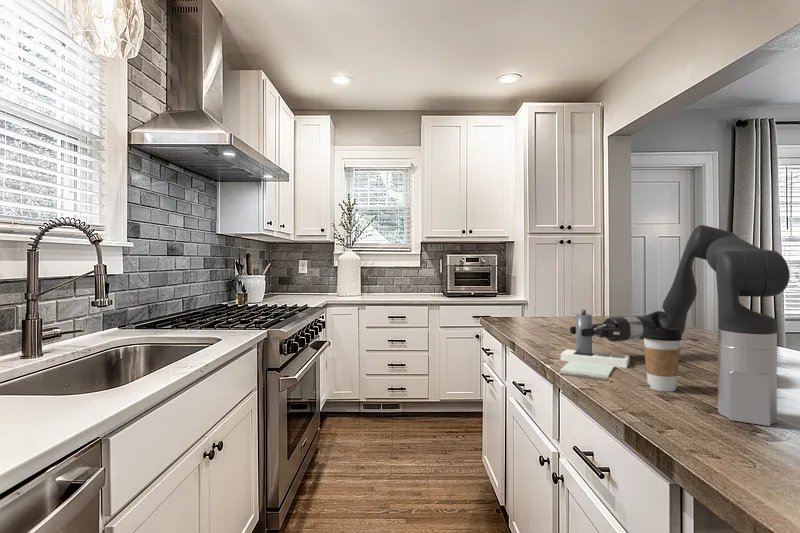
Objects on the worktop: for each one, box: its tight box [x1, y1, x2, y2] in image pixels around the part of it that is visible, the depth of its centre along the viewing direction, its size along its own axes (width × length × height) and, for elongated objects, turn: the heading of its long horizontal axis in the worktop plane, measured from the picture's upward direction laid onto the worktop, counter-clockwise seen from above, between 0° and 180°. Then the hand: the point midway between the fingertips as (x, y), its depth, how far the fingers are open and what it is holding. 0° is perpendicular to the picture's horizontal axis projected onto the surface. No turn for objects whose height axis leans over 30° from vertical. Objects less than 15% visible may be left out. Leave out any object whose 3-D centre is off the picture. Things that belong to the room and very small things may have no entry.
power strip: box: [560, 348, 630, 369], centre depth 130 cm, size 8×24×3 cm, turn 57°
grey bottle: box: [575, 309, 593, 356], centre depth 133 cm, size 5×5×14 cm
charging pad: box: [559, 361, 615, 382], centre depth 122 cm, size 12×12×2 cm
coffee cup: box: [642, 327, 683, 393], centre depth 107 cm, size 8×8×15 cm
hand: (576, 331), depth 133 cm, fingers closed on grey bottle, 4 cm apart
